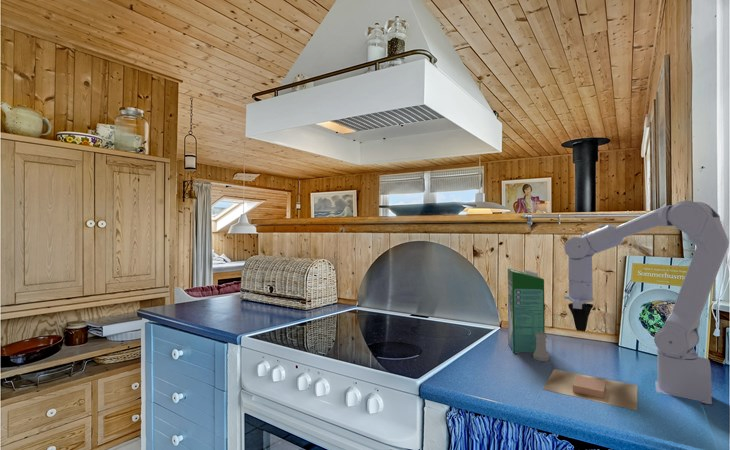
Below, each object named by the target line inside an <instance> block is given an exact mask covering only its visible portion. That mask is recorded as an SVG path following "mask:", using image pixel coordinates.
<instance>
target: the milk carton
mask: <svg viewBox="0 0 730 450" xmlns="http://www.w3.org/2000/svg"><path fill="white" fill-rule="evenodd" d="M538 275H539V272H537V271H533V270H529V269H524V271H521V270H517V269H514V268H513V269H512V268H509V267H508V268H507V326H508V327H507V335H508V336H507V339H508V343H507V344H508V345H509V347H510V350H511V351H512V353H514V354H519V353H521V352H522V353H523V352H524V353H534V352H535V350H536V339H537V338H536V336H535V335H536V332H538V333H539V331H540V332H541V333H542V332H544V333H546V332H545V331H546V329H545V328H546V326H545V325H546V323H545V320H546V319H545V316H546V315H545V279H544V278H542V277H540V276H538Z"/></svg>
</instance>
